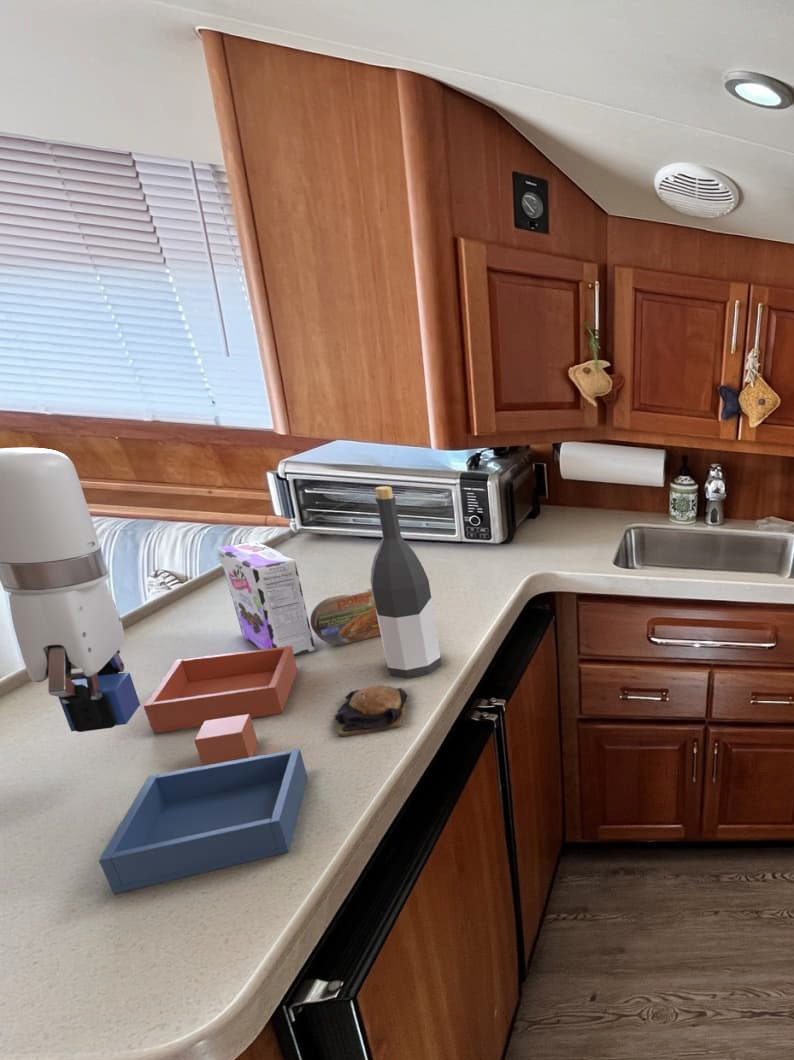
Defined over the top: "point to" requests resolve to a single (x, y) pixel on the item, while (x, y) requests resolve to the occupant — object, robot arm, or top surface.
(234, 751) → the terracotta block
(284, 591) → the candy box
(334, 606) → the tin
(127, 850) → the blue bin
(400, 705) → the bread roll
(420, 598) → the wine bottle
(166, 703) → the terracotta bin
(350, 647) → the top surface
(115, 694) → the blue block
